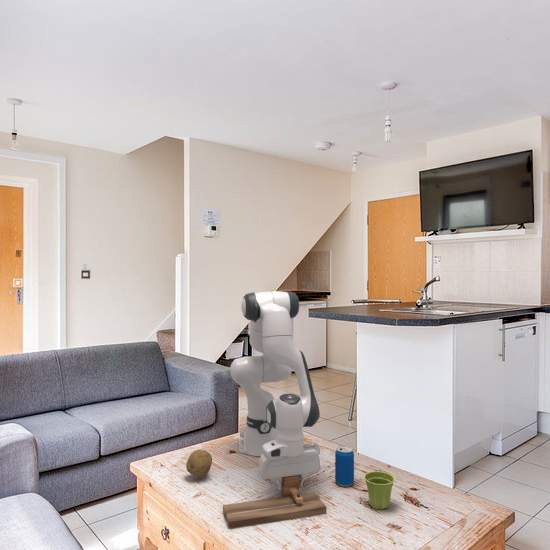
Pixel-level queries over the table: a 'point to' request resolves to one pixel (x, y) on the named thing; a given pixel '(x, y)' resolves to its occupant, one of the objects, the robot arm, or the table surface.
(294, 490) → the wooden chest hasp
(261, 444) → the robot arm
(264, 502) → the plank
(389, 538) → the table surface
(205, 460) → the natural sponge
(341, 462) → the beverage can
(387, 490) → the plant pot
